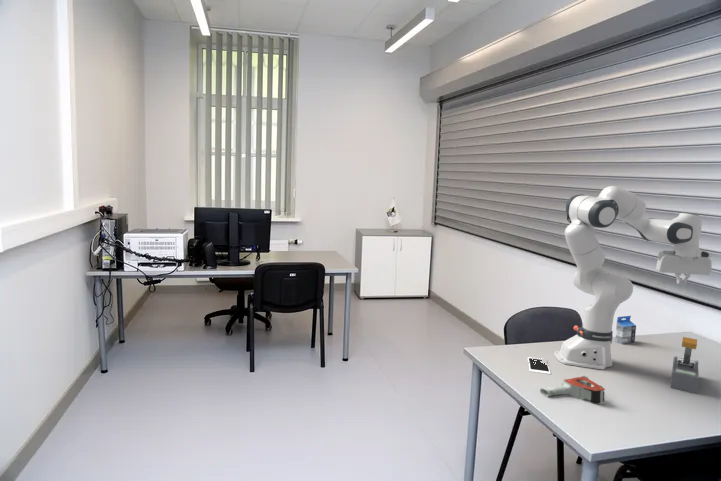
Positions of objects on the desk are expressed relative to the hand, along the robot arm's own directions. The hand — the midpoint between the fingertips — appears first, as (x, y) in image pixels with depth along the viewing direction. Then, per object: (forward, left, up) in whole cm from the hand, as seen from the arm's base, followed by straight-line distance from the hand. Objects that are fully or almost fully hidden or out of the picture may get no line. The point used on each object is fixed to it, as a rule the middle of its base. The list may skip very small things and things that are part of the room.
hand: (681, 283), depth 199 cm
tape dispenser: (-54, -43, -35) cm, 78 cm away
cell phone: (-60, -18, -35) cm, 72 cm away
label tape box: (-10, +22, -34) cm, 42 cm away
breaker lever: (-7, -23, -27) cm, 36 cm away
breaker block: (-7, -23, -34) cm, 42 cm away
